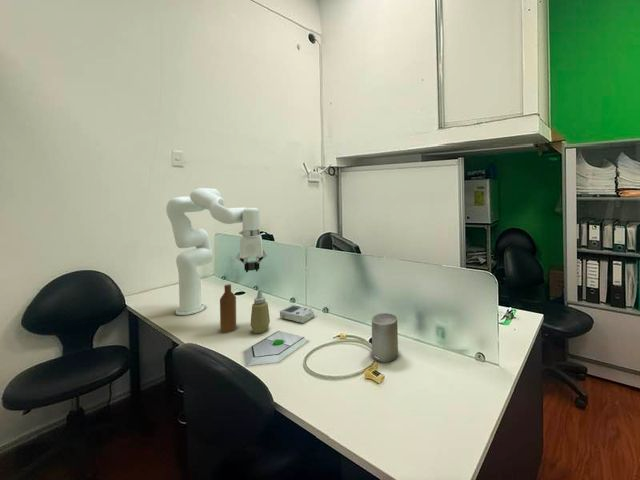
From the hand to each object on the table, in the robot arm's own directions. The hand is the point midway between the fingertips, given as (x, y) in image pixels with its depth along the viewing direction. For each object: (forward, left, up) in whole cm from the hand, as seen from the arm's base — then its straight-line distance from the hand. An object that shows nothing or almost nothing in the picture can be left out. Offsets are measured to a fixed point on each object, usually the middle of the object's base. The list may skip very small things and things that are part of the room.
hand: (252, 270), depth 143 cm
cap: (0, 0, +1) cm, 1 cm away
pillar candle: (+50, +52, -24) cm, 76 cm away
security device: (+33, +11, -24) cm, 42 cm away
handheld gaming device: (+5, +21, -24) cm, 32 cm away
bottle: (+8, -9, -23) cm, 26 cm away
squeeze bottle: (+14, +5, -24) cm, 28 cm away
